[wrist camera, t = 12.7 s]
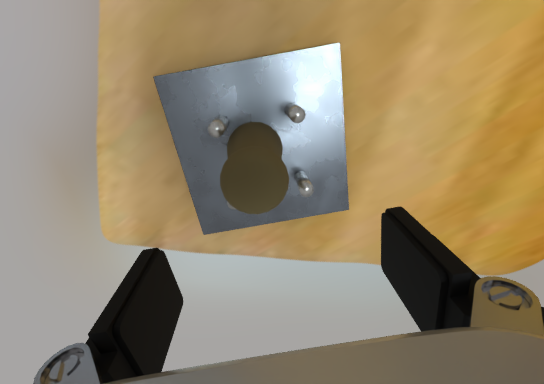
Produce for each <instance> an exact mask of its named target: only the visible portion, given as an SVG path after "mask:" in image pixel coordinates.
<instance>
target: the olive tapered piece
mask: <svg viewBox="0 0 544 384" xmlns="http://www.w3.org/2000/svg"><path fill="white" fill-rule="evenodd" d="M282 151H283V146H282V142H281V138H280V137H279V135H278V134H277V132H276V131H275V130H274V129H273V128H272V127H270V126H269V125H267V124H264V123H261V122H248V123H245V124H242V125H241V126H239V127H238V128H236V129H235V130H234V131H233V133H232V134H231V135H230V137H229V140H228V143H227V156H228V159H227V160H226V162H225V163H224V165H223V168H222V171H221V174H220V187H221V189H222V192H223V195H224V198H225V199H226V200H227V201H228V203H229V204H230V205H231V206H232V207H234V208H235V209H237V210H238V211H241V212H244V213H247V214H261V213H265V212H269V211H270V210H272V209H274V208H275V207H277V206H278V205H279V204H280V203H281V201H282V200H283V199H284V197H285V195H286V192H287V190H288V185H289V175H288V171H287V168H286V165H285V164H284V162H283V161H282Z"/></svg>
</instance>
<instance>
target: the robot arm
mask: <svg viewBox="0 0 544 384" xmlns="http://www.w3.org/2000/svg"><path fill="white" fill-rule="evenodd" d="M381 266H382V270H383V272H384V274H385V275H386V277H387V278H388V280H389V281H390V283H391V285H392V286H393V288H394V289H395V291H396V292H397V294H398V296H399V297H400V299H401V300H402V302H403V303H404V305H405V307H406V308H407V310H408V311H409V313H410V314H411V316H412V318H413V319H414V321H415V322H416V324H417V325H418V327H419V329H420V330H421V332H415V333H407V334H400V335H392V336H386V337H380V338H372V339H366V340H359V341H353V342H346V343H340V344H333V345H327V346H320V347H314V348H308V349H302V350H295V351H288V352H282V353H276V354H270V355H263V356H257V357H251V358H245V359H238V360H232V361H226V362H220V363H214V364H208V365H202V366H196V367H190V368H184V369H178V370H172V371H166V372H161V371H162V368H163V365H164V361H165V358H166V355H167V352H168V349H169V346H170V343H171V340H172V337H173V334H174V331H175V327H176V324H177V321H178V318H179V315H180V312H181V309H182V306H183V297H182V294H181V292H180V290H179V287H178V285H177V282H176V280H175V277H174V275H173V272H172V270H171V267H170V265H169V262H168V260H167V258H166V255H165V253H164V251H162V250H161V251H160V250H159V249H158V248H152V249H146V250H143V251H142V252H141V253H140V255H139V256H138V258H137V260H136V261H135V263H134V264H133V266H132V267H131V269H130V270H129V272H128V273H127V275H126V276H125V278H124V279H123V281H122V283H121V284H120V286H119V287H118V289H117V290H116V292H115V293H114V295H113V297H112V298H111V300H110V301H109V303H108V304H107V306H106V307H105V309H104V310H103V312H102V313H101V315H100V317H99V318H98V320H97V321H96V323H95V324H94V326H93V327H92V329H91V331H90V332H89V333H88V336H89V339H88V340H87V342H86V343H85V344H84V343H76V344H73V345H70V346H67V347H66V348H64V349H62V350H60V351H59V352H57V353H56V354H54V355H53V356H52V357H51V358H50V359H49V360H48V361H46V362H45V363H44V365H43V366H42V367H41V368H40V369H39V371H38V373H37V375H36V377H35V378H34V383H33V384H544V307H541V304H540V302H539V299H538V297H537V296H536V295H535V294H534V293H533V292H532V291H531V290H530V289H528V288H527V287H525V286H523V285H522V284H520V283H517V282H516V281H513V280H510V279H507V278H502V277H484V278H480V277H479V276H478V275H476V274H475V273H474V272H473V271H472V270H471V269H470V268H469V267H468V266H467V265H466V264H464V263H463V262H462V261H461V260H460V259H459V258H458V257H457V256H456V255H455V254H454V253H452V252H451V251H450V250H449V249H448V248H447V247H446V246H445V245H444V244H443V243H442V242H440V241H439V240H438V239H437V238H436V237H435V236H434V235H432V234H431V233H430V232H429V231H428V230H426V229H425V228H424V227H423V226H422V225H421V224H420V223H419V222H418V221H417V220H416V219H415V218H413V217H412V216H411V215H410V214H409V213H408V212H407V211H406V210H405V209H404V208H402V207H395V208H389V209H386V211H385V213H382V219H381Z"/></svg>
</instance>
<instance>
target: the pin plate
mask: <svg viewBox="0 0 544 384" xmlns="http://www.w3.org/2000/svg"><path fill="white" fill-rule="evenodd" d="M153 78H154V81H155V84H156V87H157V90H158V93H159V96H160V100H161V103H162V106H163V109H164V112H165V115H166V118H167V121H168V125H169V128H170V131H171V134H172V137H173V140H174V143H175V147H176V150H177V153H178V156H179V159H180V162H181V165H182V169H183V172H184V175H185V178H186V181H187V184H188V187H189V191H190V194H191V197H192V200H193V203H194V206H195V209H196V212H197V216H198V219H199V222H200V225H201V228H202V231H203V234H204V235H206V234H211V233H217V232H223V231H229V230H234V229H240V228H246V227H252V226H257V225H263V224H269V223H275V222H280V221H286V220H292V219H298V218H304V217H309V216H315V215H321V214H327V213H332V212H338V211H344V210H349V203H348V184H347V166H346V147H345V129H344V110H343V92H342V73H341V55H340V43H336V44H330V45H325V46H319V47H314V48H308V49H303V50H297V51H292V52H286V53H281V54H275V55H270V56H264V57H259V58H253V59H248V60H242V61H237V62H231V63H226V64H220V65H215V66H209V67H204V68H198V69H193V70H187V71H182V72H176V73H171V74H165V75H160V76H155V77H153ZM248 122H261V123H264V124H267V125H269V126H270V127H272V128H273V129H274V130H275V131H276V132H277V134H278V135H279V137H280V138H281V142H282V146H283V151H282V161H283V162H284V164H285V165H286V168H287V171H288V175H289V185H288V190H287V192H286V195H285V197H284V199H283V200H282V201H281V203H280V204H279V205H278V206H277V207H275V208H274V209H272V210H270V211H269V212H265V213H261V214H247V213H244V212H241V211H238V210H237V209H235V208H234V207H232V206H231V205H230V204H229V203H228V201H227V200H226V199H225V198H224V195H223V192H222V189H221V187H220V174H221V171H222V168H223V165H224V163H225V162H226V160H227V159H228V156H227V143H228V140H229V137H230V135H231V134H232V133H233V131H234V130H235V129H236V128H238V127H239V126H241V125H242V124H245V123H248Z"/></svg>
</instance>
